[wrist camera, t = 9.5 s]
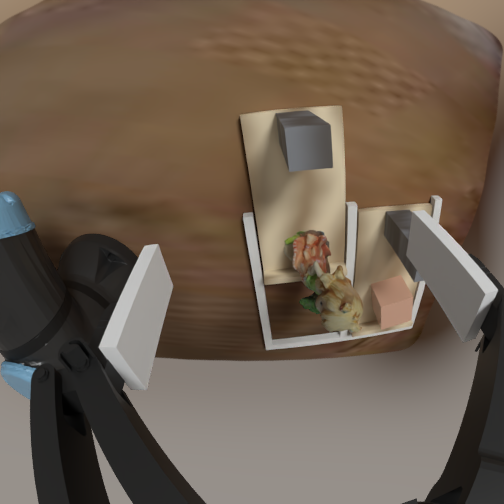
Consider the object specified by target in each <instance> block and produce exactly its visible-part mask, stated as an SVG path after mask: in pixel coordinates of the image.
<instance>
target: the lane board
mask: <svg viewBox="0 0 504 504" xmlns="http://www.w3.org/2000/svg"><path fill="white" fill-rule="evenodd" d="M430 204H431V205H432V212H431V217H432V218H433V219H434V220H435V221H436V222H437V223H439V218H440V211H441V205H442V199H441V198H440V197H439V196H431V202H430ZM243 221H244V227H245V233H246V238H247V244H248V250H249V256H250V261H251V267H252V273H253V278H254V284H255V290H256V295H257V301H258V307H259V313H260V318H261V324H262V330H263V335H264V341H265V347H266V350H272V349H282V348H292V347H301V346H309V345H317V344H324V343H332V342H338V341H345V340H351V339H358V338H364V337H369V336H375V335H380V334H386V333H391V332H396V331H401V330H406V329H410V328H412V326H413V324H412V326H409V327H404V328H400V329H395V330H389V331H384V332H379V333H373V334H367V335H362V336H356V337H352V335H351V333H350V332H349V331H348V330H345V331H339V332H334V333H327V334H319V335H311V336H303V337H294V338H285V339H275V340H272V335H271V328H270V321H269V315H268V308H267V301H266V295H265V288H264V281H263V275H262V268H261V261H260V255H259V248H258V242H257V235H256V229H255V222H254V216H253V212H250V213H243ZM356 230H357V204H356V203H355V202H345V252H344V263H345V265H346V268H347V270H348V272H347V275H346V276H345V277H347V278H348V279H350V280H351V284H352V287H353V277H354V264H355V249H356ZM424 286H425V281H419V282H418V283H417V287H416V291H415V295H414V298H413V308H412V319H411V320H412V322H413V323H414V320H415V317H416V314H417V311H418V307H419V304H420V301H421V297H422V294H423V290H424Z"/></svg>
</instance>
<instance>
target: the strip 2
mask: <svg viewBox="0 0 504 504" xmlns="http://www.w3.org/2000/svg"><path fill="white" fill-rule="evenodd" d="M420 210H425V211H426V212H427V213H428V214H429V215H430V216H431V212H432V205H431V204H430V203H425V204H411V205H398V206H386V207H374V208H362V209H357V230H356V249H355V264H354V277H353V288H354V289H355V290H356V291H357V293H358V294H359V296H360V298H361V300H362V303H363V313H362V316H361V318H360V320H359V321H358V325H359V326H360V327H362V329H361V330H360V331H359V332H357V333H356V332H351V335H352V337H356V336H362V335H367V334H373V333H379V332H384V331H389V330H395V329H400V328H404V327H409V326H412V324H413V322H412V320H411V321H408V322H405V323H402V324H399V325H395V326H392V327H389V328H386V329H382V330H381V328H380V325H379V323H378V320H377V318H376V315H375V313H374V310H373V308H372V295H371V284H372V283H376V282H379V281H383V280H386V279H389V278H393V277H396V276H399V275H401V276H402V278H403V279H404V281H405V283H406V285H407V287H408V288H409V290H410V292H411V294H412V295H413V298H414V295H415V291H416V287H417V283H418V282H419V281H424V280H423V278H422V277H421V275H420V274H419V273H418V271H417V270H416V268H415V267H414V265H413V264H412V263H411V261H410V260H409V258H408V257H407V256H406V253H407V247H408V241H409V234H410V227H411V219H412V211H420Z"/></svg>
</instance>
